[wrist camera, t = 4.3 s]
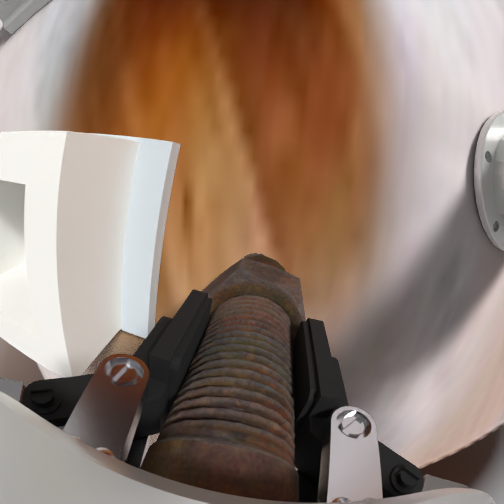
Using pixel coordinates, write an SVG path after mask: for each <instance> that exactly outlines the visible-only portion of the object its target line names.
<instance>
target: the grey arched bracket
mask: <svg viewBox="0 0 504 504" xmlns="http://www.w3.org/2000/svg"><path fill="white" fill-rule="evenodd" d="M50 1H51V0H0V19H1V20H2V22H3V27H4V29H5V30H6V31H7V32H9V33H10V34H11V35H12V34H13V33H14V32H15V31H16V30H17V29H18V28H19V27H21V26H22V25H23V24H24V23H25V22H26V21H27V20H28V19H29V18H30V17H31V16H33V15H34V14H35V13H36V12H37V11H38V10H40V9H41V8H42V7H43V6H45V5H46V4H47V3H48V2H50Z"/></svg>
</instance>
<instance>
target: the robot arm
mask: <svg viewBox="0 0 504 504" xmlns="http://www.w3.org/2000/svg"><path fill="white" fill-rule="evenodd" d="M474 187H475V195H476V203H477V207H478V212H479V216H480V219H481V222H482V225H483V228H484V230H485V232H486V234H487V236H488V238H489V239H490V240H491V242H492V243H493V244H494V245H495V246H496V247H497V248H499V249H500V250H502V251H504V111H503V112H497V113H495V114H493V115H492V116H490V118H489V119H488V120H487V121H486V122H485V124H484V126H483V128H482V129H481V132H480V135H479V138H478V141H477V146H476V152H475V162H474ZM211 305H212V298H208V293H204V292H201V291H197V290H192V292H191V293H190V295H189V296H188V298H187V299H186V300H185V302H184V303H183V305H182V306H181V308H180V309H179V311H178V312H177V314H176V315H175V317H174V318H173V319H171V318H168V317H165V316H163V317H162V318H161V319H160V320H159V321H158V323H157V324H156V325H155V327H154V328H153V329H152V331H151V332H150V333H149V335H148V336H147V337H146V339H145V340H144V341H143V343H142V344H141V346H140V347H139V348H138V350H137V351H136V352H135V354H134V355H133V356H132V355H127V354H115V355H111V356H109V357H107V358H105V359H104V360H103V361H102V362H101V363H100V365H99V366H98V368H97V370H96V371H95V373H94V374H88V375H81V376H74V377H66V378H57V379H47V380H39V381H35V382H33V383H31V384H29V385H28V386H25V385H24V383H23V382H20V381H14V380H9V379H4V378H0V504H495V502H494V500H493V499H492V498H491V496H489V495H488V494H487V493H485V492H483V491H480V490H475V489H469V488H468V487H467V486H465V485H463V484H459V483H455V482H451V481H447V480H444V479H440V478H437V477H434V476H430V475H427V474H426V475H425V476H424V477H423V475H422V473H421V471H420V470H419V469H418V468H417V467H416V466H415V465H413V464H412V463H410V462H409V461H407V460H406V459H404V458H403V457H401V456H400V455H398V454H397V453H395V452H394V451H392V450H391V449H389V448H388V447H387V446H385V445H384V444H382V443H381V442H379V441H378V438H377V430H376V425H375V422H374V420H373V419H372V417H371V416H370V415H369V414H368V413H367V412H365V411H363V410H361V409H360V408H356V407H351V406H348V402H347V397H346V393H345V388H344V384H343V380H342V376H341V372H340V368H339V363H338V360H337V359H336V358H334V357H331V352H330V348H329V344H328V340H327V335H326V331H325V327H324V323H323V321H319V320H315V319H310V318H308V319H307V321H301V323H300V326H299V328H298V331H297V334H296V336H295V339H294V342H293V344H292V347H293V368H294V370H293V374H294V389H295V392H294V396H295V403H294V404H295V410H294V417H295V421H294V434H295V440H294V444H295V452H294V455H295V462H294V464H295V469H296V470H297V472H298V474H299V502H283V501H271V500H262V499H254V498H247V497H241V496H235V495H229V494H224V493H219V492H215V491H210V490H206V489H202V488H198V487H194V486H190V485H187V484H183V483H180V482H176V481H173V480H170V479H167V478H164V477H161V476H158V475H155V474H152V473H149V472H147V471H144V470H142V469H140V466H141V464H142V462H143V460H144V458H145V455H146V453H147V450H148V446H149V442H150V439H151V435H153V434H156V433H160V432H161V431H162V427H163V424H164V423H165V422H166V417H167V415H168V414H169V412H170V409H171V407H172V405H173V403H174V401H175V399H176V397H177V395H178V392H179V390H180V388H181V386H182V384H183V381H184V380H185V377H186V375H187V373H188V369H189V366H190V364H191V361H192V359H193V357H194V354H195V352H196V351H197V347H198V346H199V344H200V340H201V339H202V337H203V334H204V333H205V330H206V328H207V326H208V321H209V316H210V311H211Z"/></svg>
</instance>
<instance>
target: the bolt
mask: <svg viewBox="0 0 504 504" xmlns="http://www.w3.org/2000/svg"><path fill="white" fill-rule="evenodd" d="M201 292H204V293H208V298H212V305H211V311H210V316H209V321H208V326H207V328H206V330H205V333H204V334H203V337H202V339H201V340H200V344H199V346H198V347H197V351H196V352H195V354H194V357H193V359H192V361H191V364H190V366H189V369H188V373H187V375H186V377H185V380H184V381H183V384H182V386H181V388H180V390H179V392H178V395H177V397H176V399H175V401H174V403H173V405H172V407H171V409H170V412H169V414H168V415H167V417H166V422H165V423H164V424H163V427H162V431H161V432H160V434H159V437H158V439H157V441H156V442H155V443H153V444H152V445H151V446H150V447H149V449H148V451H147V453H146V455H145V458H144V460H143V462H142V464H141V466H140V469H142V470H144V471H147V472H149V473H152V474H155V475H158V476H161V477H164V478H167V479H170V480H173V481H176V482H180V483H183V484H187V485H190V486H194V487H198V488H202V489H206V490H210V491H215V492H219V493H224V494H229V495H235V496H241V497H247V498H254V499H262V500H271V501H283V502H299V474H298V472H297V470H296V469H295V464H294V462H295V455H294V452H295V444H294V440H295V434H294V421H295V417H294V410H295V404H294V403H295V396H294V392H295V389H294V374H293V370H294V368H293V347H292V344H293V342H294V339H295V336H296V334H297V331H298V328H299V326H300V323H301V321H305V313H304V305H303V298H302V291H301V285H300V279H299V278H297V277H295V276H293V275H291V274H289V273H287V272H286V271H285V269H284V268H283V267H282V266H281V265H280V264H279V263H278V262H277V261H275V260H273V259H271V258H269V257H266V256H264V255H263V254H257V253H254V254H249V255H247V256H245V258H242V259H241V260H240V261H238V262H237V263H235V264H234V265H232V266H231V267H230V268H228V269H227V270H226V271H224V272H223V273H222V274H221V275H220V276H218V277H217V278H216V279H215V280H214V281H212V282H211V283H210V284H209V285H208V286H207V287H206V288H205V289H204V290H203V291H201Z"/></svg>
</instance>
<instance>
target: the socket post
mask: <svg viewBox="0 0 504 504" xmlns="http://www.w3.org/2000/svg"><path fill="white" fill-rule="evenodd" d="M180 145H181V144H178V143H175V142H169V141H162V140H155V139H146V138H138V137H128V136H118V135H106V134H92V133H79V132H70V131H13V132H0V337H1V338H3V339H4V340H6V341H7V342H8V343H10V344H11V345H12V346H14V347H15V348H16V349H18V350H19V351H21V352H22V353H24V354H25V355H27V356H28V357H30V358H31V359H33V360H34V361H36V362H37V363H39V364H41V365H42V366H44V367H45V368H47V369H49V370H50V371H52V372H54V373H56V374H57V375H59V376H61V377H63V378H66V377H74V376H81V375H82V374H83V373H84V371H85V370H86V369H87V368H88V367H89V365H90V364H91V363H92V362H93V360H94V359H95V358H96V357H97V356H98V355H99V353H100V352H101V351H102V350H103V349H104V347H105V346H106V345H107V344H108V343H109V342H110V340H111V339H112V338H113V337H114V336H115V335H116V333H117V332H118V331H119V330H123V331H126V332H129V333H131V334H134V335H137V336H140V337H143V338H146V337H147V336H148V335H149V333H150V332H151V331H152V329H153V328H154V327H155V314H156V301H157V290H158V280H159V271H160V262H161V254H162V246H163V239H164V232H165V225H166V218H167V212H168V206H169V200H170V195H171V189H172V184H173V178H174V173H175V168H176V164H177V159H178V154H179V150H180Z"/></svg>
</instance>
